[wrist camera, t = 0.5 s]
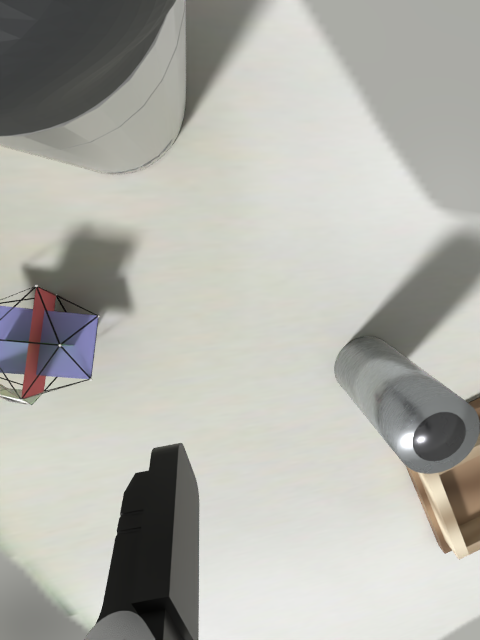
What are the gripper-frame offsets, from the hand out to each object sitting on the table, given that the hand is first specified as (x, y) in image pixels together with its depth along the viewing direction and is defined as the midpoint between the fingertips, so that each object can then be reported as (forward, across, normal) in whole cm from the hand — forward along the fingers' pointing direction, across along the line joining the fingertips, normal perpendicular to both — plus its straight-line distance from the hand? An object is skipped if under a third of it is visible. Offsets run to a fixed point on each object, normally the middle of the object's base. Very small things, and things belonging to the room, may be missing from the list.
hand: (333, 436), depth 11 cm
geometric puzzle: (+18, +15, +4) cm, 24 cm away
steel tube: (+18, -7, +13) cm, 23 cm away
